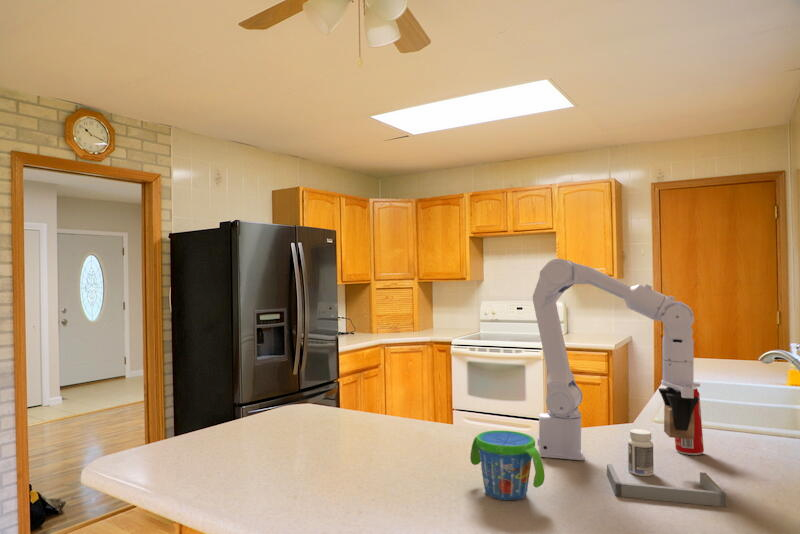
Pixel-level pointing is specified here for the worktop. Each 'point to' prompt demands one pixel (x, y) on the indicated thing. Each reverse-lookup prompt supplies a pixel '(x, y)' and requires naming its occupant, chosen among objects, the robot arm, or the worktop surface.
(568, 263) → the robot arm
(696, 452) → the beverage can
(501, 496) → the snack cup
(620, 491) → the corral
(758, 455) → the worktop surface
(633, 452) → the pill bottle
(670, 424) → the walnut block
